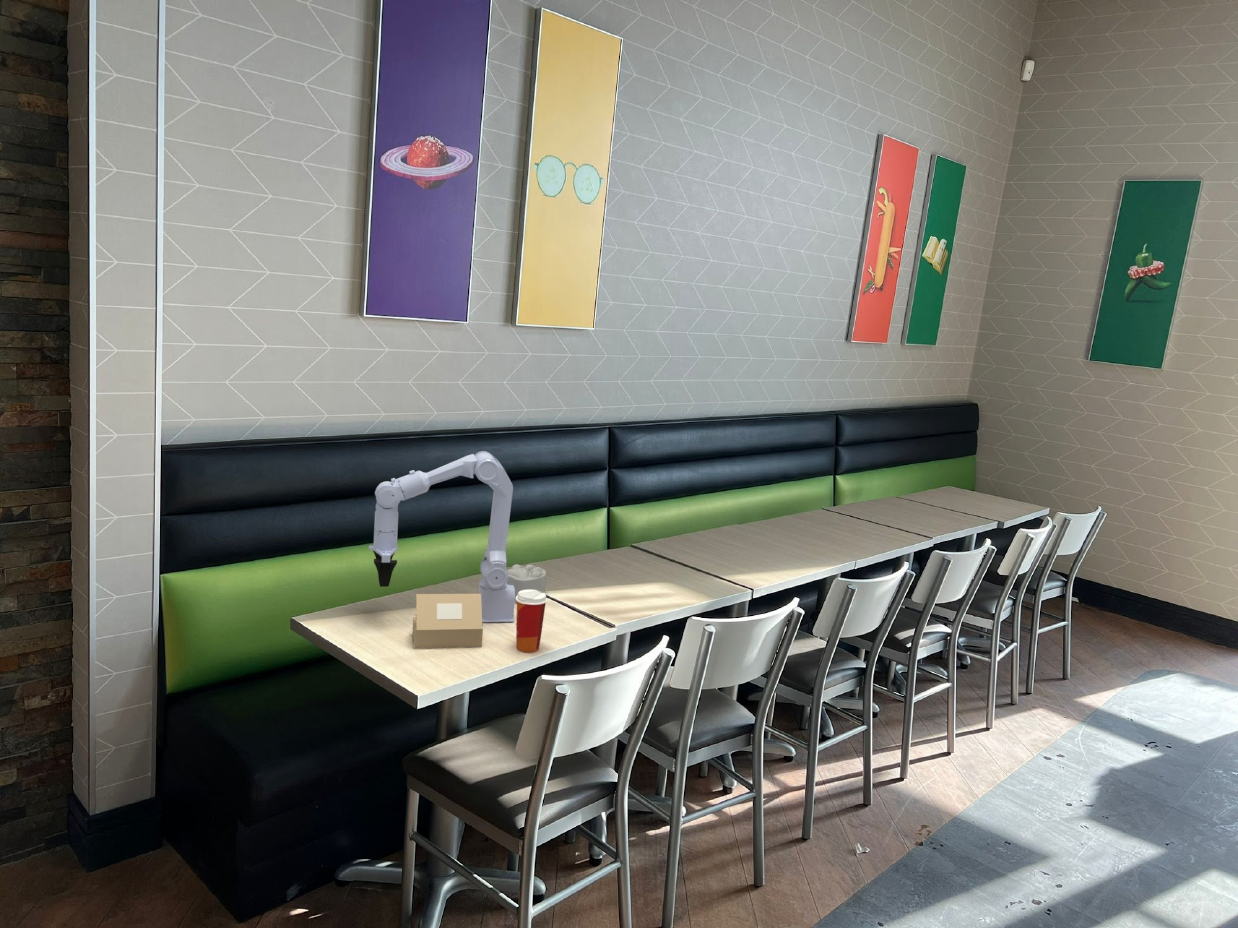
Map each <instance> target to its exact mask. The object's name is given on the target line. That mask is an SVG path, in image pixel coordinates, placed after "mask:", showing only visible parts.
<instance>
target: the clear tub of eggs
mask: <svg viewBox="0 0 1238 928" xmlns="http://www.w3.org/2000/svg"><path fill="white" fill-rule="evenodd" d="M506 570H507V572H508V581H507V585H513V586H514V589H515V604H514V605H517V600H516V596H517V595H518V592H519V591H522V590H538V591H540V592H543V593H545V594H546V583H547V581H546V580H547V571H546V570H545V568H542V567H539V566H535V565H533V564H527V565H526V566H523V565H520V564H517V563H515V564H513V565H512V566H511V567H510V568H509V569H506Z"/></svg>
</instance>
